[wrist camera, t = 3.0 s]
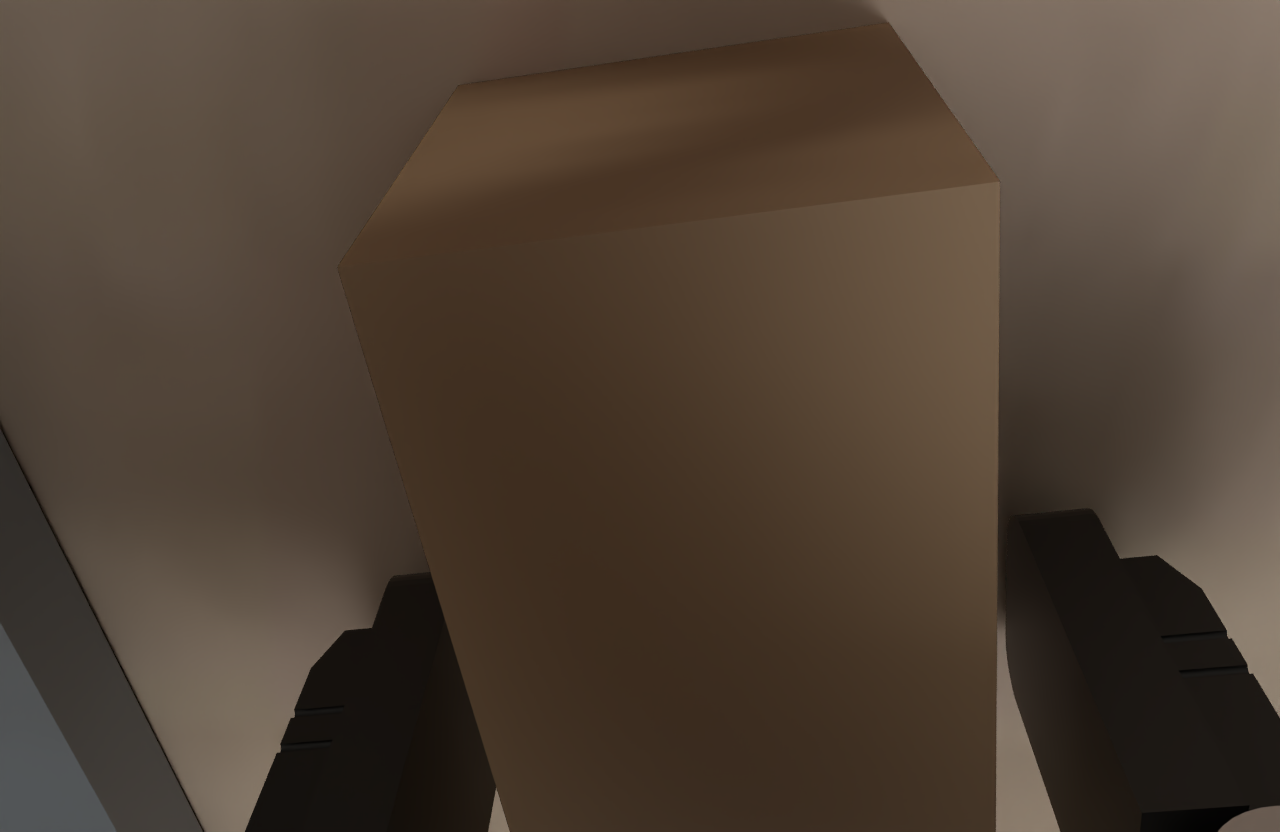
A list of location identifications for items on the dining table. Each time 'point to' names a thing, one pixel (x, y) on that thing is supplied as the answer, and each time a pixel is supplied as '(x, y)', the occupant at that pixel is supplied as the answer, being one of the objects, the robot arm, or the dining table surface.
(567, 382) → the brown rectangular block
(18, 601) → the rail
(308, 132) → the dining table surface
